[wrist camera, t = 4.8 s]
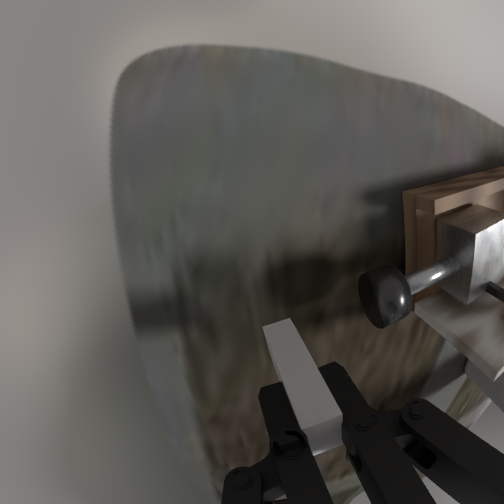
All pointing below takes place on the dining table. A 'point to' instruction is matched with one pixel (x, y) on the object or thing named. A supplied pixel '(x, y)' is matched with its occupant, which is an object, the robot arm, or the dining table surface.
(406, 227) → the brown wooden box
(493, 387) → the water bottle
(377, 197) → the dining table surface
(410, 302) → the silver block with knob
